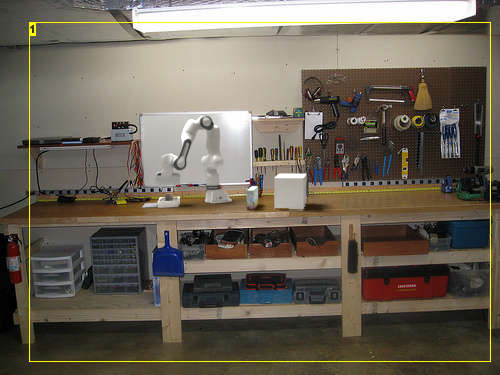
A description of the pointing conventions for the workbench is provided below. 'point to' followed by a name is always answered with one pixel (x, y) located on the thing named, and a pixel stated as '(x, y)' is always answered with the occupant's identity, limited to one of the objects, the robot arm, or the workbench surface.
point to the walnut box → (169, 197)
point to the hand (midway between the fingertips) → (167, 190)
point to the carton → (168, 202)
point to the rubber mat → (150, 205)
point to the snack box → (252, 197)
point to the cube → (290, 191)
